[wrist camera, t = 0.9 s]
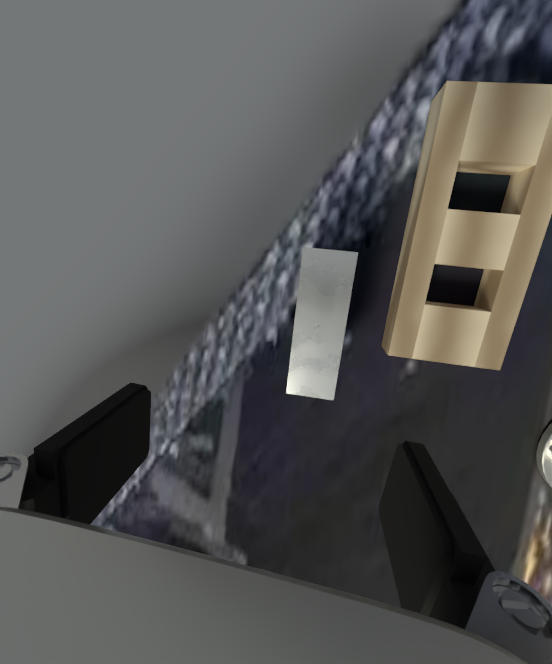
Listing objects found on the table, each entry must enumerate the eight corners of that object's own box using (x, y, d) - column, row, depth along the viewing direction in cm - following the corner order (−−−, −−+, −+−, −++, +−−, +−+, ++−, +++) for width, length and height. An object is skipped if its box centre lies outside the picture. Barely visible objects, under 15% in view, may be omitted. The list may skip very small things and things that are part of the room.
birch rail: (560, 106, 23) (593, 85, 21) (482, 359, 29) (499, 370, 27) (431, 101, 25) (446, 80, 22) (381, 345, 30) (388, 355, 28)
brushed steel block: (347, 253, 29) (358, 252, 21) (329, 365, 32) (333, 400, 24) (306, 249, 29) (303, 247, 21) (293, 360, 32) (286, 393, 25)
